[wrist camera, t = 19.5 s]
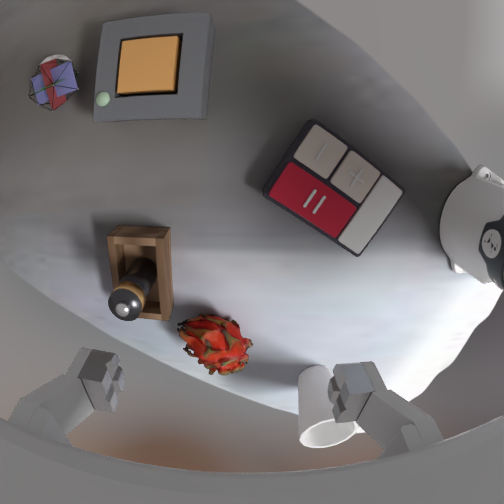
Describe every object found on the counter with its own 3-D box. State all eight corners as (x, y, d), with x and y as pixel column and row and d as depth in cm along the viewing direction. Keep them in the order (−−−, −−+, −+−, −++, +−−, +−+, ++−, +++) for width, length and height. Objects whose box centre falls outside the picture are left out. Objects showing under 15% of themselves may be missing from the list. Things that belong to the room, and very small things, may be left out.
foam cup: (339, 353, 49) (360, 411, 37) (340, 385, 52) (357, 438, 40) (285, 366, 49) (296, 426, 37) (292, 396, 53) (302, 452, 41)
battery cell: (157, 257, 39) (136, 296, 30) (159, 284, 41) (141, 327, 32) (129, 255, 39) (102, 293, 30) (132, 282, 40) (108, 323, 31)
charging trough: (170, 227, 38) (163, 238, 35) (173, 304, 43) (168, 320, 39) (118, 225, 38) (106, 236, 34) (126, 300, 43) (118, 315, 39)
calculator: (314, 117, 30) (409, 192, 33) (307, 119, 34) (395, 185, 37) (261, 196, 34) (360, 260, 37) (260, 190, 38) (350, 248, 41)
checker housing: (214, 28, 28) (210, 11, 22) (206, 119, 33) (199, 118, 27) (121, 35, 27) (101, 22, 22) (114, 121, 32) (91, 122, 26)
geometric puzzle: (82, 113, 30) (52, 73, 22) (41, 128, 29) (9, 94, 22) (93, 76, 31) (70, 37, 23) (54, 90, 31) (29, 56, 23)
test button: (182, 43, 26) (177, 36, 23) (178, 92, 28) (172, 89, 26) (131, 47, 26) (122, 41, 23) (127, 95, 28) (117, 92, 25)
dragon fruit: (248, 344, 49) (188, 303, 47) (274, 335, 42) (205, 286, 40) (224, 387, 44) (160, 345, 42) (248, 387, 37) (171, 337, 35)
